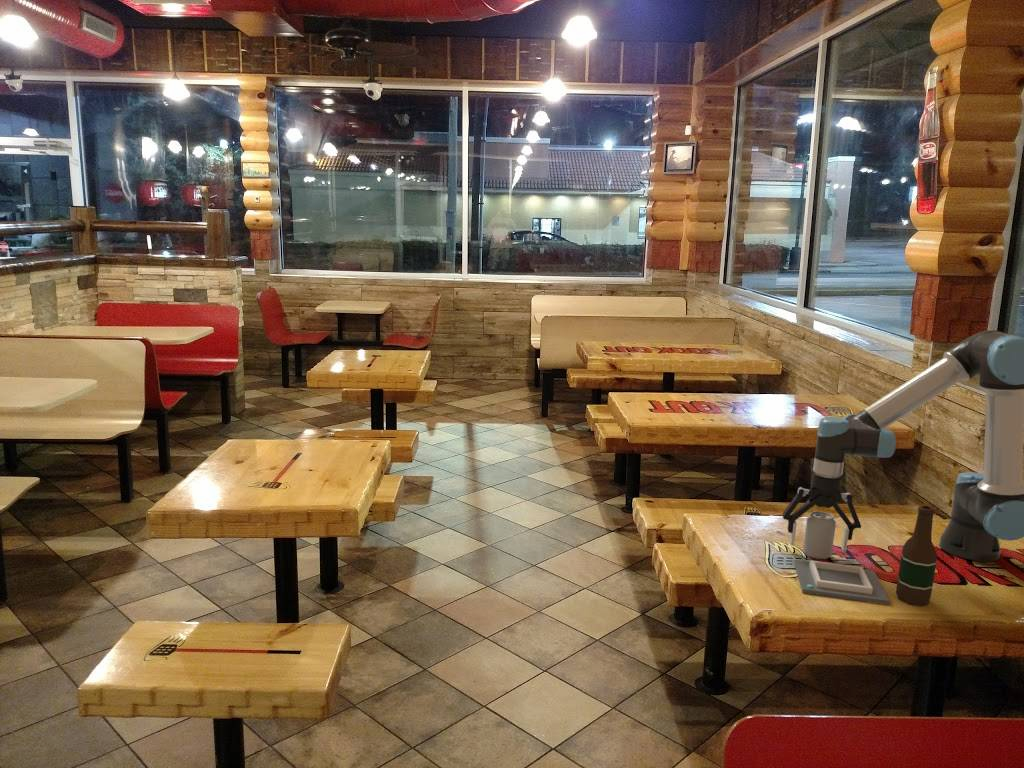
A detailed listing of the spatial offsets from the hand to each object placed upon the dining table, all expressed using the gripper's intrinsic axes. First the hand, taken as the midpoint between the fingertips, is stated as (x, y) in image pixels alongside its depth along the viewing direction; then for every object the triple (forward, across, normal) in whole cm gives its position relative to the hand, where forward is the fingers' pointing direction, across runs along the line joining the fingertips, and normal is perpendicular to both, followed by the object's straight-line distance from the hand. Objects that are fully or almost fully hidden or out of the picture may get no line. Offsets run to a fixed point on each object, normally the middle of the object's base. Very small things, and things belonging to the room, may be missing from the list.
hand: (817, 547), depth 216 cm
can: (+3, 0, 0) cm, 3 cm away
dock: (+2, -3, +17) cm, 17 cm away
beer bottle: (+3, -20, +21) cm, 29 cm away
